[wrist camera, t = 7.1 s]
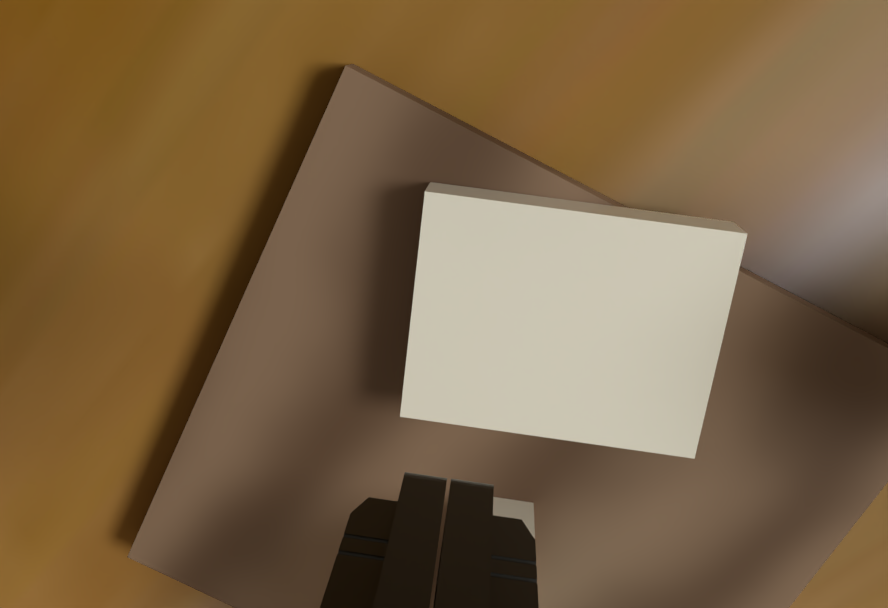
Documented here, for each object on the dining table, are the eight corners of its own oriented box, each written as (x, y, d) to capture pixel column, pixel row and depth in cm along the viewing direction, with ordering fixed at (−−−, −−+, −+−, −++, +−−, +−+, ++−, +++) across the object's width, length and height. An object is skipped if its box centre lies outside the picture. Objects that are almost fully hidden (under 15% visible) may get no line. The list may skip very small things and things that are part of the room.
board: (141, 537, 31) (127, 557, 30) (353, 64, 25) (345, 64, 24) (635, 770, 33) (639, 797, 31) (943, 372, 27) (962, 387, 26)
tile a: (399, 416, 26) (694, 458, 25) (424, 191, 23) (747, 233, 23) (406, 394, 27) (684, 434, 27) (430, 181, 25) (732, 221, 25)
